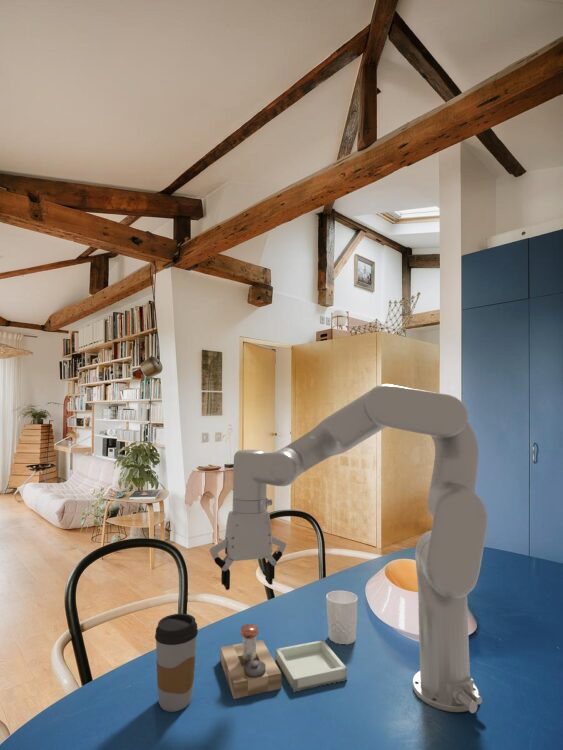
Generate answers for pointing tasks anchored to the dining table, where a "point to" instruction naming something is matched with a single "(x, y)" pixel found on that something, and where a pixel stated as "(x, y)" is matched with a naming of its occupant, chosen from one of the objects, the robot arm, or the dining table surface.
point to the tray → (310, 665)
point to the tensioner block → (250, 671)
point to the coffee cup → (175, 660)
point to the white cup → (342, 616)
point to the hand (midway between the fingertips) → (248, 584)
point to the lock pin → (248, 642)
